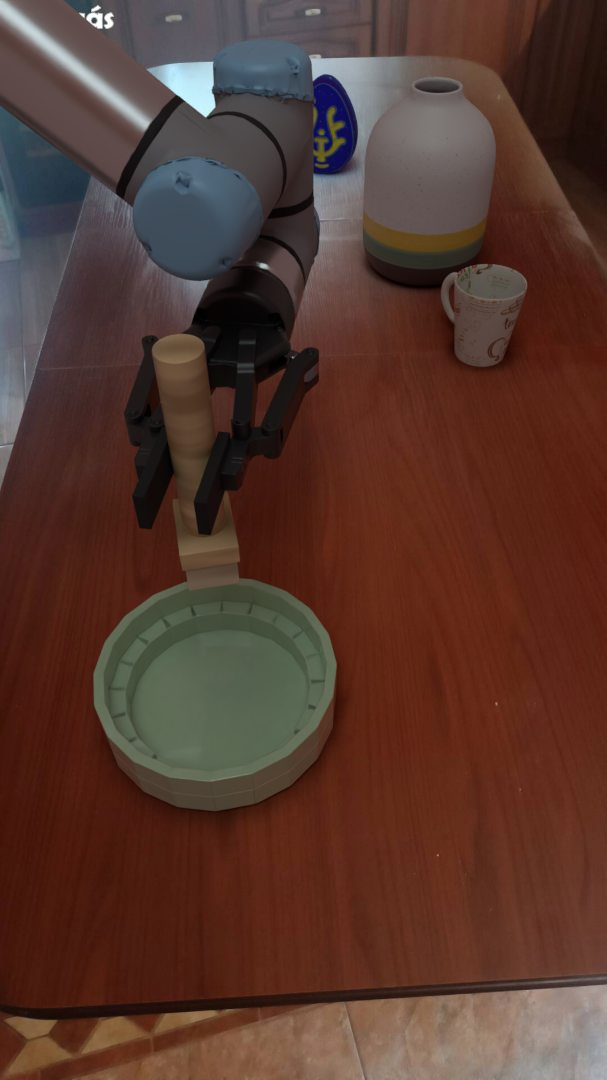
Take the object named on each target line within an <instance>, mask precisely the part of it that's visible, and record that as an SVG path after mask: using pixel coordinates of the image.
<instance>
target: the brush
mask: <svg viewBox="0 0 607 1080" xmlns="http://www.w3.org/2000/svg"><path fill="white" fill-rule="evenodd" d="M152 356H153V362H154V367H155V373H156V378H157V384H158V390H159V395H160V403H161V406H162V412H163V417H164V423H165V429H166V434H167V440H168V445H169V451H170V456H171V462H172V467H173V479H174V482H175V489H176V494H177V498H172V499H171V500H172V507H173V508H172V509H173V516H174V523H175V532H176V533H175V534H176V539H177V540H176V541H177V548H178V556H179V561H180V565H181V571H182V572H185V575H186V576H185V577H186V582H188V587H189V591H192V590H198V589H204V588H211V587H217V586H223V585H229V584H235V583H239V582H240V581H239V578H240V574H239V566H238V563H241V554H240V546H239V541H238V535H237V531H236V525H235V519H234V516H233V511H232V506H231V499H230V496H229V490H225V492H224V496H223V499H222V502H221V505H220V508H219V511H218V514H217V517H216V520H215V524H214V527H213V530H212V533H211V535H202V534H198V527H197V521H196V515H195V508H194V499H195V496H196V493H197V490H198V488H199V485H200V482H201V479H202V476H203V474H204V471H205V468H206V465H207V462H208V460H209V457H210V454H211V451H212V448H213V445H214V443H215V441H216V437H217V434H216V427H215V426H216V425H215V418H214V409H213V403H212V395H211V394H210V385H209V377H208V369H207V361H206V353H205V345H204V343H203V341H202V340H201V339H199V338H198V337H196V336H193V335H189V334H181V333H175V334H170V335H166V336H164V337H161V338H160V339H158V341H157V342H156V343H155V344H154V345H153V347H152Z"/></svg>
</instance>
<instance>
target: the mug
mask: <svg viewBox="0 0 607 1080" xmlns="http://www.w3.org/2000/svg"><path fill="white" fill-rule="evenodd" d="M452 286H453V290H454V291H453V301H454V302H453V307H454V308H453V309H452V306H451V302H450V291H451V288H452ZM527 291H528V281H527V279H526V277H525V276H524V275H522V273H520V271H517V270H516V269H513V268H511V267H509V266H504V265H501V264H494V263H493V264H492V263H480V264H473V265H472V266H469V267H467V268H464V269H463V270H461V271H460V272H459V273H457V272H453V273H451V274H449V275H448V276H447V277H446V278H445V280H444V282H443V283H442V284H441V288H440V299H441V300H440V301H441V304H442V307H443V310H444V312H445V314H446V316H447V317H448V319H449V320H450V321H451V323H452V324H453V325H454V326H453V328H454V329H453V330H454V332H453V334H454V339H453V340H454V345H453V346H454V355H455V357H456V358H457V359H458V360H459V361H460V362H462V363H464V364H466V365H469V366H473V367H478V368H479V367H480V368H482V367H483V368H485V367H491V366H495V365H497V364H498V363H500V362H501V361H503V359H504V356H505V354H506V351H507V348H508V345H509V343H510V340H511V337H512V333H513V331H514V328H515V325H516V322H517V319H518V317H519V313H520V312H521V311H520V310H521V308H522V305H523V303H524V299H525V297H526V294H527Z"/></svg>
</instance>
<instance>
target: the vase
mask: <svg viewBox="0 0 607 1080" xmlns="http://www.w3.org/2000/svg"><path fill="white" fill-rule="evenodd" d="M364 158H365V159H364V177H363V201H362V203H363V205H362V243H363V248H364V252H365V256H366V258H367V260H368V262H369V263H370V265H371V266H372V268H373V269H374V270H375V271H376V272H378V274H380V275H381V276H383V277H386V279H389V280H391V281H394V282H397V283H400V284H405V285H409V286H420V287H421V286H425V287H426V286H437V285H442V284H443V282H444V280H445V278H446V277H447V276H448V275H449V274H451V273H453V272H457V273H459V272H460V271H461V270H463V269H464V268H467V267H469V266H473V265H475V262H476V261H477V259H478V257H479V255H480V252H481V250H482V246H483V243H484V238H485V234H486V233H485V232H486V226H487V222H488V216H489V209H490V204H491V203H490V202H491V195H492V191H493V190H492V189H493V182H494V177H495V169H496V162H497V161H496V160H497V144H496V137H495V134H494V129H493V128H492V125H491V123H490V122H489V120H488V119H487V118H486V116H485V114H484V113H482V112H481V111H480V109H479V108H477V106H475V105H474V104H473V103H472V102H470V100H468V99H467V97H466V96H465V94H464V85H463V83H462V82H461V81H459V80H458V79H454V78H450V77H445V76H427V77H422V78H418V79H416V80H414V81H412V82H411V84H410V88H409V92H408V94H407V95H405V96H404V97H402V99H400V100H398V101H397V102H396V103H395V104H393V105H392V106H390V107H389V108H388V109H387V110H386V111H385V112H383V114H381V116H380V117H379V118H378V119H377V121H376V122H375V123H374V125H373V127H372V130H371V131H370V135H369V137H368V140H367V144H366V150H365V156H364Z"/></svg>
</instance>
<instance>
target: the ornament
mask: <svg viewBox="0 0 607 1080" xmlns="http://www.w3.org/2000/svg"><path fill="white" fill-rule="evenodd" d="M313 91H314V97H315V99H316V104H314V158H313V173H316V174H323V175H324V174H325V175H326V174H333V173H335V172H338V171H340V170H342V169H343V168H345V167H346V166H347V164H349V163H350V161H351V160H352V158H353V156H354V154H355V152H356V149H357V145H358V137H359V125H358V120H357V116H356V112H355V109H354V106H353V103H352V101H351V98H350V97H349V94H348V92H347V90H346V89H345V87H344V85H343V84H342V83H341V82H340V81H339V79H338V78H336V76H334V75H332V74H329V73H325V74H321V75H319V76H317V77H316V78H315V79H313Z"/></svg>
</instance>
